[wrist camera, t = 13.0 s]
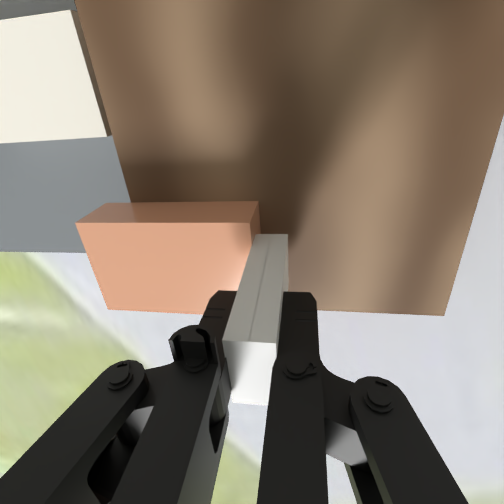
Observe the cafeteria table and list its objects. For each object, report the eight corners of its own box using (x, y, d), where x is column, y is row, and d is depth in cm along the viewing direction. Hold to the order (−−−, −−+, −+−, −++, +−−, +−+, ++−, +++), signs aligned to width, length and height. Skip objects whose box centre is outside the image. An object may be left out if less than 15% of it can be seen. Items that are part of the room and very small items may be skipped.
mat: (124, 46, 16) (117, 45, 15) (171, 249, 22) (167, 254, 21) (-92, 70, 18) (-103, 70, 18) (3, 247, 24) (-4, 251, 24)
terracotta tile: (258, 200, 15) (249, 222, 13) (264, 286, 17) (257, 317, 15) (106, 202, 16) (74, 222, 14) (131, 282, 19) (108, 309, 16)
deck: (500, -77, 12) (577, -138, 8) (420, 273, 20) (443, 315, 16) (119, -19, 15) (61, -46, 11) (181, 268, 22) (159, 303, 19)
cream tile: (104, 18, 15) (69, 9, 13) (132, 128, 17) (107, 136, 15) (-33, 37, 16) (-84, 32, 14) (11, 136, 19) (-27, 145, 17)
